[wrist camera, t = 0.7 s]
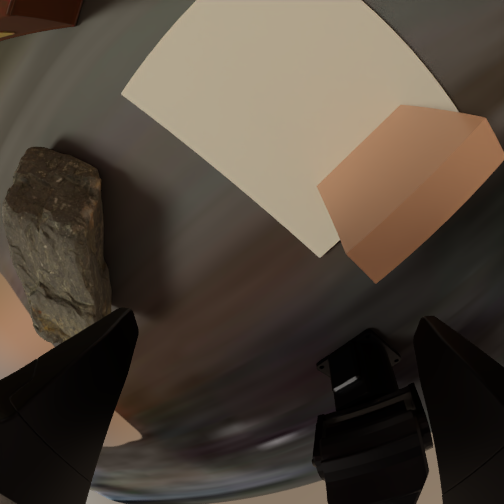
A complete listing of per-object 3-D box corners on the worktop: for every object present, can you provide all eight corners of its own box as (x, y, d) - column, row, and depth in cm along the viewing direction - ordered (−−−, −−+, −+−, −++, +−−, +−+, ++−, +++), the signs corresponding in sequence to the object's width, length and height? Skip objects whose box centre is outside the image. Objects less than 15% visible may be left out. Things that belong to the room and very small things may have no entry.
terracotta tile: (418, 127, 16) (506, 157, 8) (337, 206, 19) (375, 283, 11) (400, 104, 16) (485, 117, 8) (316, 186, 19) (346, 253, 11)
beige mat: (460, 119, 16) (464, 119, 15) (318, 254, 22) (319, 258, 21) (270, -60, 11) (270, -63, 10) (124, 93, 17) (120, 93, 16)
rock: (152, 350, 22) (54, 365, 21) (156, 299, 28) (71, 317, 27) (65, 127, 13) (-40, 184, 12) (98, 120, 19) (4, 162, 18)
